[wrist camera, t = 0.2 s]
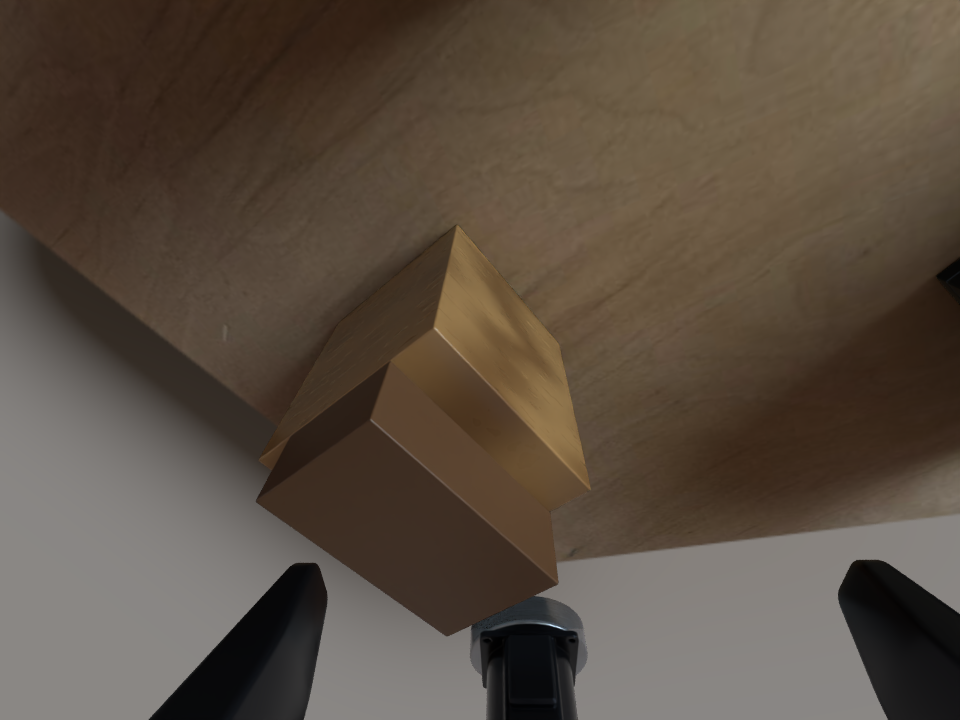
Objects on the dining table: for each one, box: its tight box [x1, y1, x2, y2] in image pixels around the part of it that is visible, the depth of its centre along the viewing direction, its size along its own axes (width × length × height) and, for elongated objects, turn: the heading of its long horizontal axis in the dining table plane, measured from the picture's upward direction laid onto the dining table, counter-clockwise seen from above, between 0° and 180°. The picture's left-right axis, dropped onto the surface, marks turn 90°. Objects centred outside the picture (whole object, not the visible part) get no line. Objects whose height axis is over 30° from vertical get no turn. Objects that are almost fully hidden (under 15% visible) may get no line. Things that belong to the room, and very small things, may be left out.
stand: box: [259, 225, 591, 512], centre depth 19 cm, size 7×7×9 cm
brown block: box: [256, 361, 558, 636], centre depth 14 cm, size 7×4×2 cm, turn 40°
